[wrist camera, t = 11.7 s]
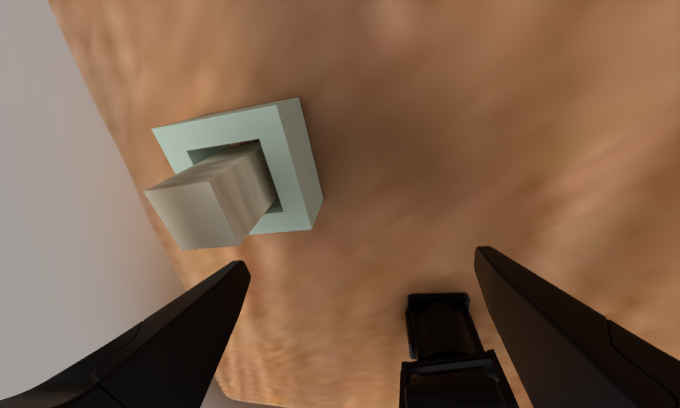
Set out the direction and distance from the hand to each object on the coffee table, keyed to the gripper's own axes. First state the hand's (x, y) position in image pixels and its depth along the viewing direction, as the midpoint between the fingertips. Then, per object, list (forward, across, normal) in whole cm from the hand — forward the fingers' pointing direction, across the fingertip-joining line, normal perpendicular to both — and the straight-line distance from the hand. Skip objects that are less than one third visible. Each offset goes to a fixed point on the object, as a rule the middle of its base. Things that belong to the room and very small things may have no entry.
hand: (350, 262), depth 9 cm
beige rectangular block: (+13, +9, -1) cm, 16 cm away
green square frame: (+13, +9, -1) cm, 16 cm away
